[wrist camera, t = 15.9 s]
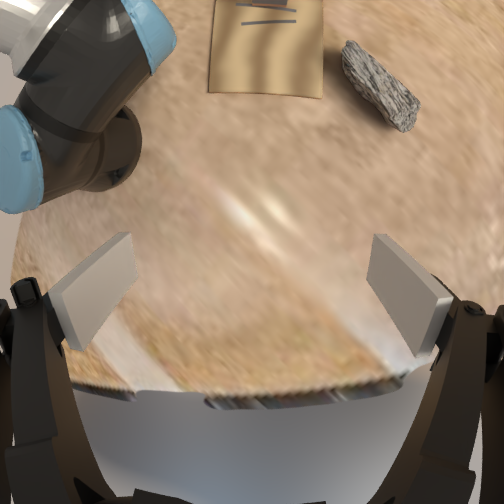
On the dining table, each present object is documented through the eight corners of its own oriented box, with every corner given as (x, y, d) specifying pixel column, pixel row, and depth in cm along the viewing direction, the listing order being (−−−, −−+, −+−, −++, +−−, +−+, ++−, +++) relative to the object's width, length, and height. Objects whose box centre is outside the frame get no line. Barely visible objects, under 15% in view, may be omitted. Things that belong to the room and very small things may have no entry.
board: (209, 93, 35) (208, 91, 34) (221, -37, 25) (221, -40, 24) (320, 99, 35) (322, 98, 34) (319, -31, 25) (321, -34, 24)
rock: (317, 54, 32) (340, 44, 24) (358, 33, 30) (389, 21, 21) (370, 137, 39) (402, 151, 31) (405, 114, 37) (442, 124, 28)
